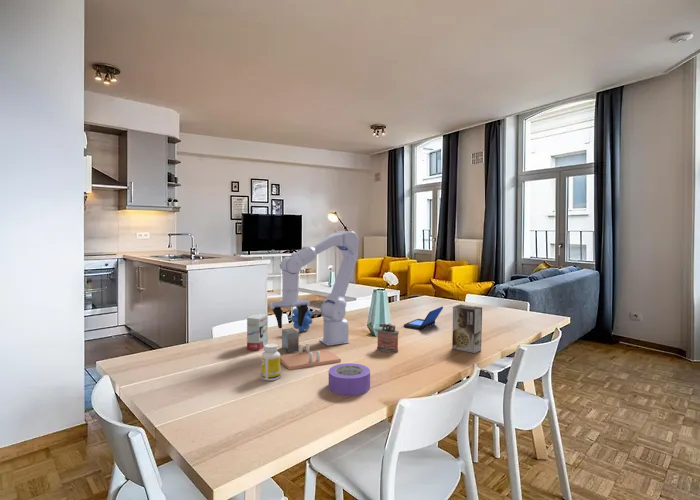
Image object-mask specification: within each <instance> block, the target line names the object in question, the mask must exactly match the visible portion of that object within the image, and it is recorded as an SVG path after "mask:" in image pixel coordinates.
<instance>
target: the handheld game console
mask: <svg viewBox="0 0 700 500" xmlns="http://www.w3.org/2000/svg"><path fill="white" fill-rule="evenodd" d="M443 309H444V306H441V307H437V308H436V309H435V308H434V309H433V310H430V311H429V312H428V313H427V315H426V317H425V318H424V319H422V318H417V319H414V320H411V321H409V322H407V323H405V324H403V327H404V328H406V329H412V330H418V331H423V330H425V329H427V328H426V327H427V326H428V327H431V326H433V325H435V324H436V319H437V318H438V317H439V315H440V314H441V312H442V311H443ZM432 324H433V325H432ZM430 325H431V326H430ZM424 328H425V329H424ZM422 329H423V330H422Z"/></svg>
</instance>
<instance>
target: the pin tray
mask: <svg viewBox="0 0 700 500" xmlns="http://www.w3.org/2000/svg"><path fill="white" fill-rule="evenodd" d="M310 345H311V344H310V343H306V344H305V351H303V344H299V352H293V353H287V354H280V363H281V364H283V366H285V367H286V368H287V369H288V371H291V370H296V369H304V368H309V367H317V366H321V365H322V366H323V365H328V364H335V363H336V364H337V363H341V361H342V359H341V358H340V357H339V356H338V355H336V354H334V353H333V352H331V351H330V350H329V349H327V348H324V349H318V350H316V349H315V350H310Z"/></svg>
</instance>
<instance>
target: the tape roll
mask: <svg viewBox="0 0 700 500" xmlns="http://www.w3.org/2000/svg"><path fill="white" fill-rule="evenodd" d="M328 390H329V391H331V393H333V394H336V395H339V396H349V397H350V396H351V397H352V396H360V395H363V394H366V393H368V392H369V391H370V390H371V369H370V368H369V367H368V366H366V365H364V364H360V363H354V362H351V363H350V362H346V363H339V364H336V365H333V366H330V368H329V369H328Z"/></svg>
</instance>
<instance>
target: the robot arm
mask: <svg viewBox="0 0 700 500" xmlns="http://www.w3.org/2000/svg"><path fill="white" fill-rule="evenodd" d="M359 243H360V238H359V236H358V234H357V233H356V232H355V231H353V230H346V231H345V230H337V231H336V232H333V233H331V234H329V236H327V237H326V238H324V239H322V240H321V241H318V243H316V244H314V245H313V246H309V245H308V246H307V245H306V246H305V245H304V246H302V247H301V249H300V250H299V251H296V252H293V253H291V254H290V255H291V256H285V257H283V258H282V260H281V261H280V263H279V268H280V270H281V271H282V288H281V289H282V301H281V300H280V301H273V302H270V303H269V308H270V309H271V310H272V311H273V313H274V315H275V318H276V323H277V327H278V329H283V312H284V311H283V310H282V308H294V307H295V308H297V307H298V325H299V326H302V323H303V319H304V316H305V314H306V312H307V310H308V309H309V307H310V306H311V300H309V299H303V300H302V299H299V273H300V271H301V270H302V268H303V267H305V266H306V265H308V264H309V263H311V262H313V261H314V260H317V259H316V258H317V255H318V254H320V253H323V252H324V251H326V250H328V249H330V248H332V247H335V246H336V247H337V249H338V250H339V251H340V252H341V254H342V261H341V263H340V265H339V269H338V271H337V275H336V277H335V280H334V284H333V287H332V290H331V292H330V294H328V295H327V296H326V298H325V300H324V302H323V303H322V304H321V305H320V314H321V315H322V317H323V330H322V331H323V335H322V337H323V338H320V339H319V342H321V343H322V344H324V345H325V346H327V347H328V346H335V345H342V344H349V343H350V341H349V323H348V320H347V319H346V318H345V316H346V313H347V311H346V307H347V302H346V299H345V296H346V294H347V290H348V287H349V284H350V281H351V279H352V276H353V273H354V269H355V266H356V264H357V260H358V259H359V258H358V257H359ZM308 311H309V310H308Z"/></svg>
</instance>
